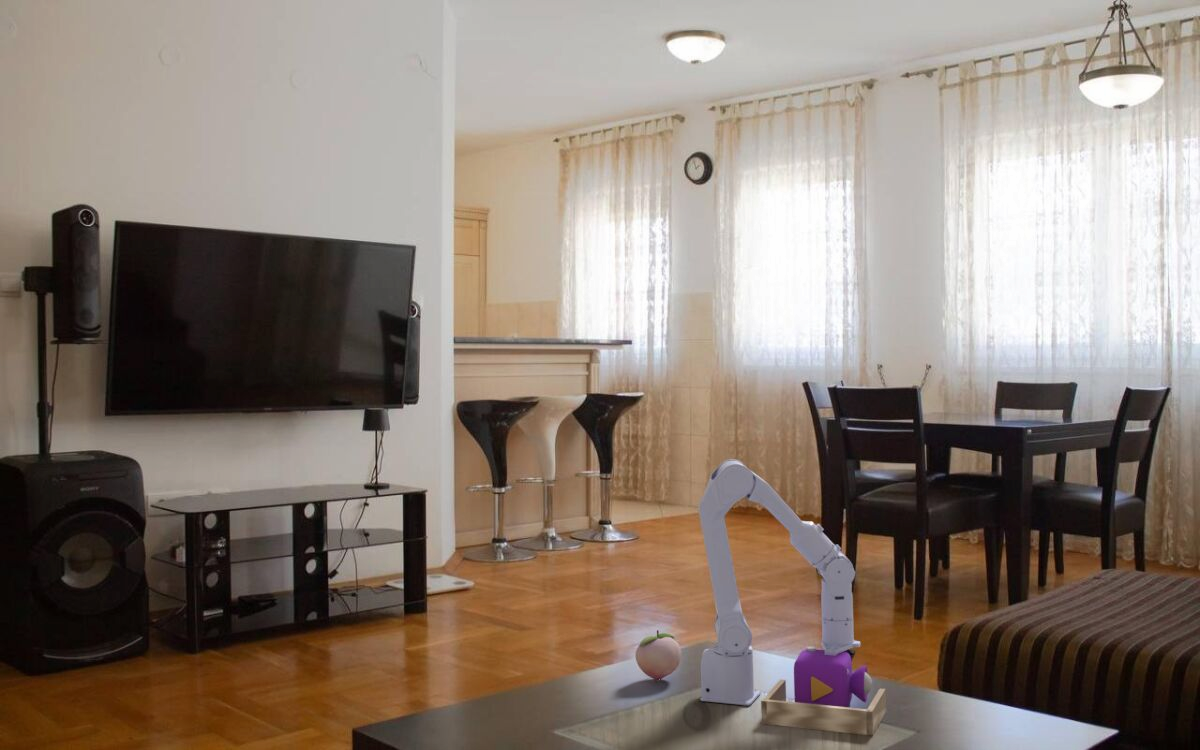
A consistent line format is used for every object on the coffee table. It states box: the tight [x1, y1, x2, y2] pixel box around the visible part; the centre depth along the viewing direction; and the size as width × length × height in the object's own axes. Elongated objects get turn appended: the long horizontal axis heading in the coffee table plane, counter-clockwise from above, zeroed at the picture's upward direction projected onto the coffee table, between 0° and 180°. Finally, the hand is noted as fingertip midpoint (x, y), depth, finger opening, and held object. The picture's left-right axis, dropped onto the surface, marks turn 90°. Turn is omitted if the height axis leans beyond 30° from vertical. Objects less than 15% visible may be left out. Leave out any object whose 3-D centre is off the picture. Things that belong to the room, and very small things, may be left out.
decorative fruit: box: [634, 629, 682, 681], centre depth 220 cm, size 9×8×10 cm
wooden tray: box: [760, 679, 887, 736], centre depth 195 cm, size 19×13×4 cm
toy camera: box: [793, 646, 873, 708], centre depth 200 cm, size 11×14×10 cm
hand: (839, 690), depth 207 cm, fingers closed
